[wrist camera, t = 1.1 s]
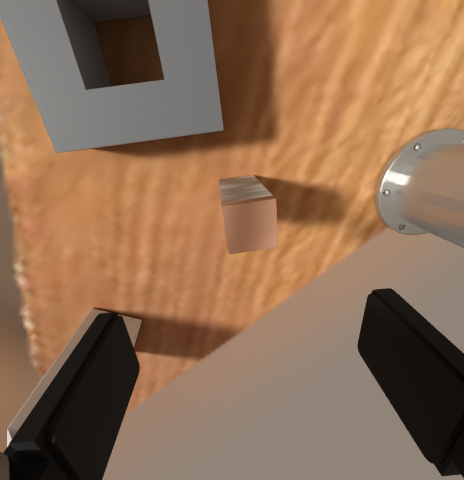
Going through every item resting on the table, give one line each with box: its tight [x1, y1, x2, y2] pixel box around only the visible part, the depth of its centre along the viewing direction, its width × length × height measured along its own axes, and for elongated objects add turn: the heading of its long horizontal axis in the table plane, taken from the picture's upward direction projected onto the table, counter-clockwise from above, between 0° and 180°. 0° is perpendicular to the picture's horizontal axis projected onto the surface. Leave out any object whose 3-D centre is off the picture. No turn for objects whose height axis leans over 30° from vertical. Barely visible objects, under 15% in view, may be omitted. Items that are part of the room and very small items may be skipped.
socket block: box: [0, 0, 224, 153], centre depth 19 cm, size 14×14×6 cm
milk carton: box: [7, 309, 142, 447], centre depth 26 cm, size 7×7×19 cm
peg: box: [219, 175, 278, 254], centre depth 23 cm, size 4×4×11 cm
